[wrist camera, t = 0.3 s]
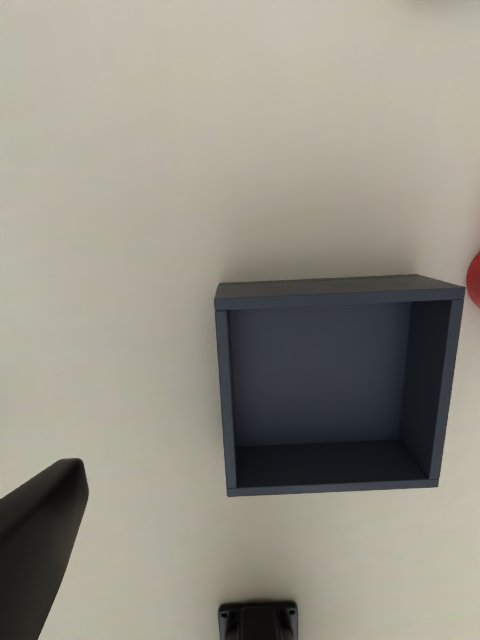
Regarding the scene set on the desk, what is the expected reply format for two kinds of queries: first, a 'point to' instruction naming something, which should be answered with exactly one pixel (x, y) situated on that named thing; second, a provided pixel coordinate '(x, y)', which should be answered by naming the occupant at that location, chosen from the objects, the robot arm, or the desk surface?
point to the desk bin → (335, 382)
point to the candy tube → (474, 280)
